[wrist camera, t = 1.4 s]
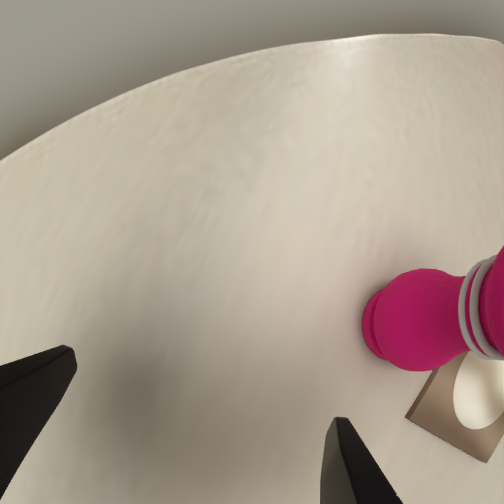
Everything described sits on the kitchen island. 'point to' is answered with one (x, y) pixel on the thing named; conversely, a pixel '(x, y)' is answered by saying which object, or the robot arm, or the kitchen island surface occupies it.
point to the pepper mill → (438, 316)
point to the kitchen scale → (464, 404)
